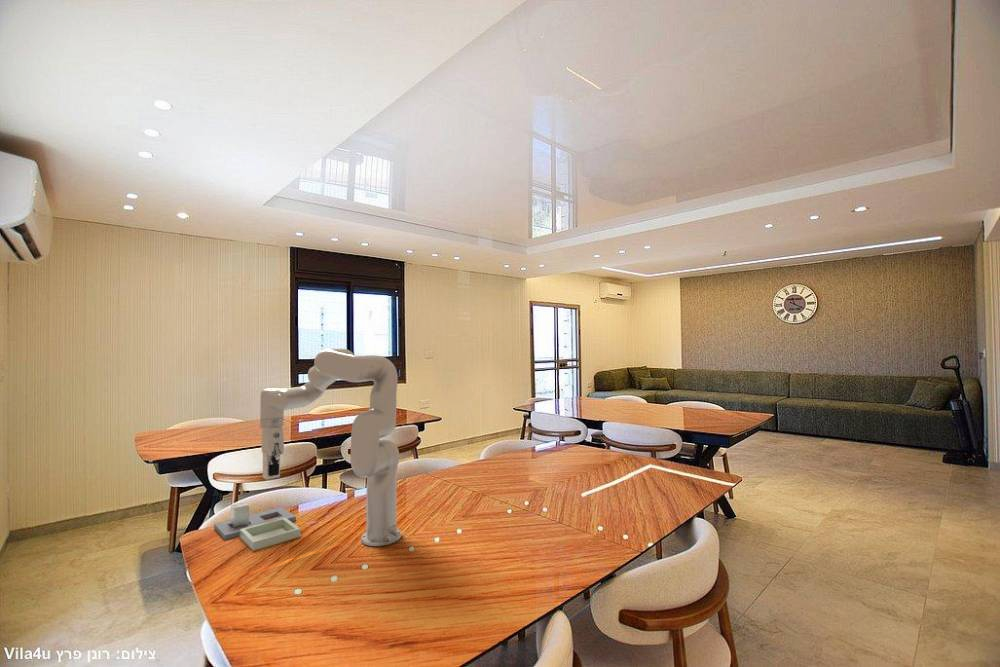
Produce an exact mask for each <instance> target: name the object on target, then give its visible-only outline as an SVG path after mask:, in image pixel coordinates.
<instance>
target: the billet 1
mask: <svg viewBox="0 0 1000 667" xmlns="http://www.w3.org/2000/svg"><path fill="white" fill-rule="evenodd" d="M249 515H250V504H249V503H247V502H246V501H243V502H239V503H233V504H230V520H231V529H235V528H238V527H242V526H246V525H249Z"/></svg>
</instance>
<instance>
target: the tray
mask: <svg viewBox="0 0 1000 667" xmlns="http://www.w3.org/2000/svg"><path fill="white" fill-rule="evenodd" d="M301 530H302V529H301V527H299V526H298V525H296V524H295V523H293V522H291V521H289V520H288V519H287V518H281V519H277V520H274V521H270V522H266V523H262V524H258V525H255V526H251V527H247V528H243V529H240V536H239V538H240V539H241V540H242V541H243V543H244V544H245V545H246V546H248V548H249V549H250V550H251V551H252V552H254V551H257V550H260V549H264V548H266V547H271V546H274V545H277V544H281V543H283V542H287V541H292V540H294V539H298V538H301Z"/></svg>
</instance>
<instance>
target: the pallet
mask: <svg viewBox="0 0 1000 667" xmlns="http://www.w3.org/2000/svg"><path fill="white" fill-rule="evenodd" d="M281 518H287V519H288V520H289V521H291V522H292V523H293V522H296V521H297V517H296V515H294V514H293V513H291V511H288V510H287V509H286V508H285V507H283V506H280V507H275V508H272V509H268V510H263V511H260V512H256V513H251V514H249V525H246V526H242V527H238V528H235V529H231V519H228V520H223V521H219V522H215V523H213V531H216V532H217V533H218V534H219V535H220V537H221V538H222V539H223V540H224V541H227V540H231V539H235V538H240V529H243V528H247V527H251V526H255V525H258V524H262V523H266V522H270V521H274V520H277V519H281Z"/></svg>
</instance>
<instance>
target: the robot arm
mask: <svg viewBox="0 0 1000 667" xmlns="http://www.w3.org/2000/svg"><path fill="white" fill-rule="evenodd" d="M313 363H314V364H313V366H312V367H310V368H309V369H308V372H307V379H308V382H306V383H304V384H303V385H301V386H296V387H295V386H294V387H288V388H279V387H270V388H264V389H262V390H261V391H260V410H259V411H260V412H259V413H260V414H259V416H260V417H259V418H260V419H259V420H260V421H259V428H260V429H262V430H261V442H260V443H261V445H260V446H261V452H262V453H263V452H265V453H267V454H268V455H269V456H270V465H269V476H274V475H278V474H279V459H280V460H281V455H284V454H285V439H284V428H283V427H284V425H285V422H284V417H285V415H284V414H285V411H288V410H292V409H293V410H294V409H298V408H299V409H300V408H304V407H307V406H309V405H310V404H312V403H314V402H315V401H317V400H318V399H319V398H321V397H322V396H323V395H324V393H325V392H326V389H327V388H328V387H329V386H330V385H332V384H334V383H335V382H336V381H338V380H342V381H345V382H349V383H363V382H365V383H366V382H370V381H372V382H373V385H372V388H371V390H370V394H369V395H370V396H369V409H368V410H365V411H363V412H360V413H359V414H358V415H357V416H356V417H355V418H354V420H353V422H352V426H351V433H350V439H351V440H350V465H351V469H352V471H353V473H354V474H355V475H356V476H357V477H359V478H364V479H367V480H366V491H365V492H366V498H365V499H366V503H365V504H366V508H365V509H366V515H365V516H366V517H365V518H366V520H365V521H366V522H365V524H366V528H365V530H366V531H365V532H364V533H363V534H362V535H361V542H362V544H364V545H366V546H370V547H384V546H388V545H391V544H393V543H396V542H398V541H400V539H401V537H402V531H401V530H400V529H399V528H398V525H397V475H398V466H399V460H400V451H399V448H398V446H397V445H396V443H394V442H393V441H392V440H389V439H383V438H386V437H387V436H389V435H391V434H392V433H393V432H394V431H395V429H396V426H397V402H398V401H397V393H398V392H397V391H398V381H399V380H398V379H399V378H398V377H399V376H398V371H397V368H396V366H395V364H393V362H392V361H391V360H390V359H388V358H387V357H384V356H381V355H374V354H372V355H369V354H368V355H355V354H354V353H353V352H352V351H351V350H349V349H347V348H325V349H322V350H321V351H319V352H318V353H317V354H316V356H315V358H314V362H313ZM380 439H381V440H380ZM279 451H280V452H279ZM273 453H275V455H273ZM272 457H274V458H273V459H272Z"/></svg>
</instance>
